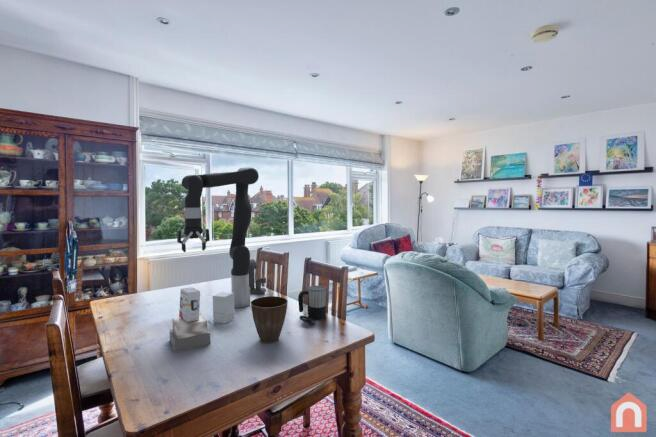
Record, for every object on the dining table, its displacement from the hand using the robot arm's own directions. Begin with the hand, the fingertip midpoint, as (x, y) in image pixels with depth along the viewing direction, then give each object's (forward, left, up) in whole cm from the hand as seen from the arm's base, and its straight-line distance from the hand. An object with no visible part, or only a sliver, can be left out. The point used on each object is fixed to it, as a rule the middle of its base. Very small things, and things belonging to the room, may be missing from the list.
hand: (194, 251), depth 159 cm
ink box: (+8, +26, -24) cm, 36 cm away
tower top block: (+8, +27, -28) cm, 40 cm away
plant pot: (-20, +42, -33) cm, 57 cm away
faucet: (-41, -32, -33) cm, 62 cm away
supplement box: (-11, +9, -33) cm, 36 cm away
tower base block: (+8, +26, -34) cm, 43 cm away
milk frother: (-46, +33, -33) cm, 66 cm away
